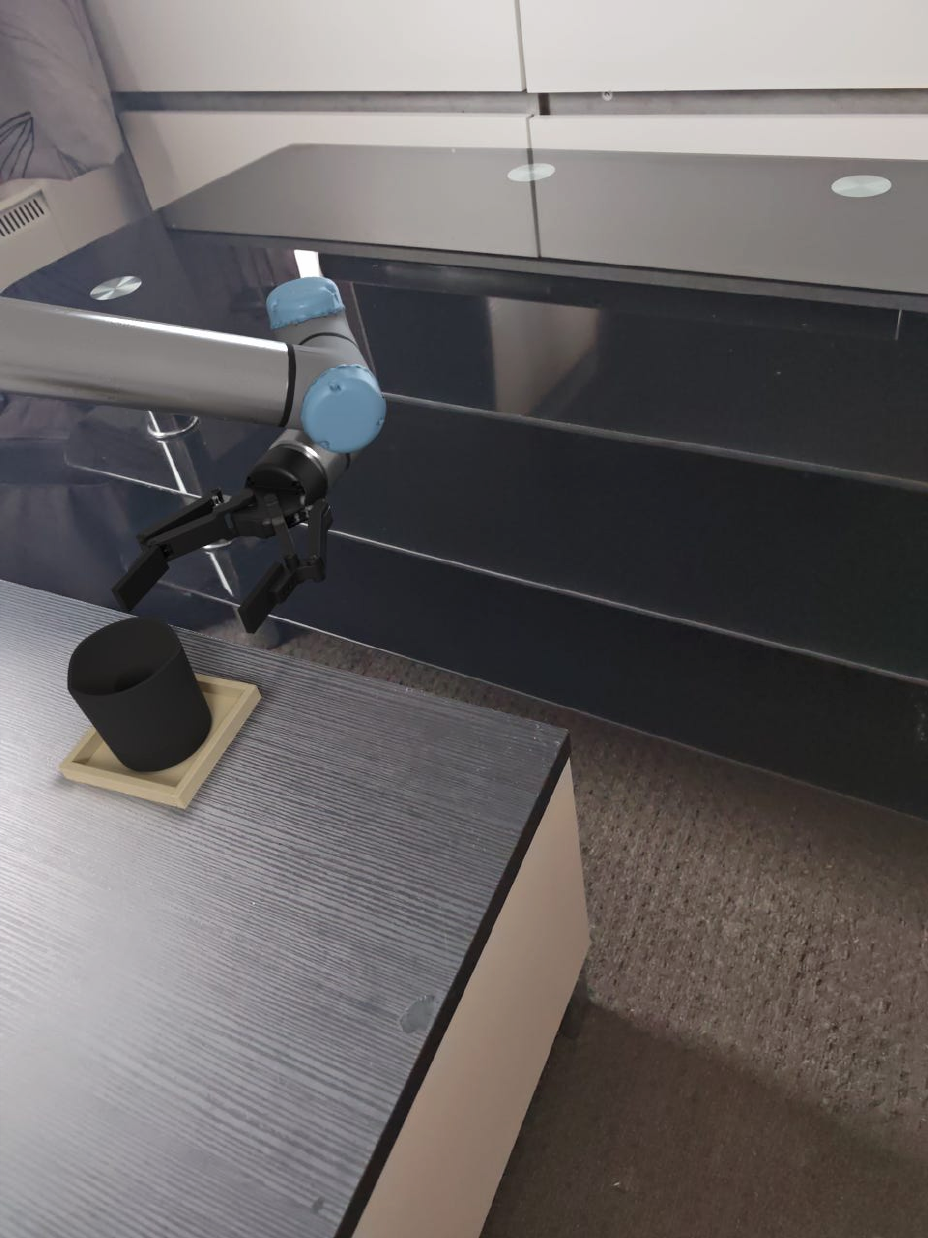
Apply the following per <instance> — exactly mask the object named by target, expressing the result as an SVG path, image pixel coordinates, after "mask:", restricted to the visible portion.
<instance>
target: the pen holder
mask: <svg viewBox="0 0 928 1238" xmlns="http://www.w3.org/2000/svg"><path fill="white" fill-rule="evenodd" d="M67 666H68V667H67V676H66V688H67V691H68V693H69V695H70V696H71V697H72V699H73V700H74V701H75V703H76V704H77V705H78V707H79V709H80V710H81V711H82V713H83V714H84V715H85V717H86V718H87V719H88V721H89V722H90V724H91V725H92V726H94V728H95V729H96V730H97V732H98V733H99V735H100V736H101V737H102V739H103V740H104V742H105V743H106V744H107V745H108V747H109V748H110V749H111V751H112V752H113V753H114V755H115V756H116V757H117V759H118V760H119V761H120V762H121V763H122V764H123V765H124V766H126V767H127V768H130V769H132V770H135V771H141V772H156V771H161V770H165V769H168V768H171V767H174V766H176V765H178V764H180V763H182V762H183V761H185V760H186V759H188V758H189V757H190V756H192V755H193V754H194V753H195V752H196V751H197V750H198V749H199V748H200V747H201V746H202V744H203V743H204V741H205V740H206V738H207V736H208V734H209V731H210V728H211V722H212V719H211V713H210V710H209V707H208V705H207V702H206V700H205V697H204V695H203V692H202V690H201V688H200V685H199V683H198V681H197V679H196V676H195V674H194V673H195V672H194V670H193V667H192V664H191V662H190V661H189V658H188V656H187V653H186V651H185V649H184V647H183V644H182V642H181V640H180V637H179V636H178V634H177V632H176V630H175V629H173V627H172V626H171V625H170V624H169V623H168V622H166V621H164V620H163V619H160V618H157V617H154V616H135V617H128V618H123V619H119V620H117V621H115V622H112V623H109V624H107V625H105V626H103V627H100V628H99V629H97V630H96V631H93V632H92V633H91V634H89V635H88V636H86V637H85V638H84V639H83V640H82V641H81V642H80V643H79V644H78V645H77V646H76V647H75V648H74V650H73V652H72V653H71V655H70V659H69V661H68V665H67Z"/></svg>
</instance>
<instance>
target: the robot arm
mask: <svg viewBox="0 0 928 1238" xmlns="http://www.w3.org/2000/svg"><path fill="white" fill-rule="evenodd" d="M265 306H266V310H267V315H268V319H269V323H270V325H269V328H270V330H271V331H272V333H273V336H274V340H271V339H265V338H258V337H254V336H247V335H242V334H241V335H239V334H234V333H228V332H222V331H215V330H210V329H203V328H197V327H191V326H186V325H179V324H172V323H168V322H159V321H154V320H148V319H142V318H135V317H129V316H125V315H117V314H111V313H107V312H106V313H105V312H99V311H94V310H93V311H92V310H87V309H81V308H74V307H68V306H62V305H56V304H50V303H44V302H37V301H31V300H26V299H25V300H24V299H18V298H14V297H8V296H1V295H0V394H6V395H15V396H22V397H23V396H24V397H31V398H32V397H33V398H39V399H40V398H41V399H48V400H55V401H56V400H57V401H63V402H71V403H80V404H88V405H96V406H105V407H113V408H121V409H128V410H137V411H146V412H152V413H153V412H154V413H161V414H170V415H177V416H185V417H193V418H200V419H201V418H202V419H210V420H218V421H219V420H220V421H225V422H226V421H227V422H233V423H243V424H252V425H259V426H267V427H275V428H283V429H285V430H284V431H283V432H282V433H281V434H280V435H279V436H278V438H277V439H276V440H275V441H274V442H273V443H271V445H270V447H268V449H267V450H266V451H265V453H263V455H262V456H261V457H260V458H259V459H258V460H257V461H256V462H255V463H254V464H253V465H252V467H251V468H250V469H249V470H248V472H247V475H246V479H245V482H244V486H243V488H242V489H241V490H239V491H237V492H236V493H234V494H232V495H227V494H223V492H222V489H221V487H219V486H214V487H211V488H209V490H207V492H205V493H204V494H203V495H202V496H201V497H199V498H198V499H196V500H195V501H193V502H191V503H189V504H188V505H186V506H184V507H182V508H181V509H179V510H177V511H175V512H174V513H172V514H170V515H168V516H166V517H164V518H162V519H161V520H159V521H157V522H155V523H154V524H152V525H151V526H149V527H147V528H145V529H144V530H141V531H140V532H138V533H137V534H136V535H135V538H136V540H137V543H138V545H139V547H140V549H141V551H142V552H141V553H140V554H139V556H137V557H136V558H135V560H134V561H133V562H131V564H130V565H129V566H128V568H127V572H126V573H125V574H124V575H122V577H121V578H120V579H119V580H118V581H117V583H115V585H114V586H113V587H111V589H110V591H111V593H112V594H113V596H114V598H115V600H116V602H117V603H118V606H119V607H120V609H121V611H122V612H123V613H127V614H130V613H131V612H132V611H133V610H134V608H135V607H137V606H138V604H139V603H140V602H141V601H142V600H143V598H144V597H145V596H146V595H147V594H148V593H149V592H150V590H152V589H153V587H154V586H155V585H156V584H157V583H158V582H159V581H160V579H161V578H162V577H163V576H164V575H165V574H166V573H167V572H168V570H169V569H170V566H169V562H171V561H174V560H176V559H178V558H182V557H183V556H186V555H188V554H191V553H193V552H195V551H197V550H199V549H202V548H204V547H207V546H209V545H212V544H214V543H217V542H219V541H221V540H225V541H232V540H234V539H237V538H239V537H245V538H246V537H247V538H248V537H249V538H250V537H255V538H258V539H262V540H268V539H269V538H272V537H275V536H276V539H277V541H278V544H279V545H278V546H279V548H280V551H281V554H282V556H283V561H284V563H285V566H284V564H283V562H282V561H274V562H273V563H272V564H271V566H270V567H269V569H268V570H267V571H265V573H264V574H263V576H262V577H261V578H260V580H259V581H258V582H257V583H256V584H255V586H254V587H253V588H252V590H251V591H250V593H249V594H248V595H247V596H246V597H245V599H244V600H243V602H242V603H241V604H240V605H239V606H238V608H237V610H236V611H237V613H238V616H239V618H240V620H241V622H242V625H243V627H244V629H245V632H246V633H247V634H252V635H255V634H256V632H257V631H258V630H259V628H260V627H261V626H262V624H264V622H265V620H266V619H267V618H268V616H269V615H271V612H272V611H273V610H274V608H275V607H276V606H277V605H282V604H283V603H285V602H287V600H288V598H289V597H290V595H291V594H292V593H293V592H294V591H295V588H296V587H298V585H301V584H303V583H304V582H305V581H306V580H312V581H313V583H322V582H324V581H325V580H326V578H327V553H328V551H327V549H328V532H329V531H330V529H331V527H332V525H333V524H334V522H335V521H334V517H333V514H332V511H331V508H330V504H329V501H328V499H327V498H326V497H327V496H328V495H329V493H330V492H331V491H332V489H334V487H335V486H336V484H337V483H338V482H339V481H340V479H341V478H342V477H343V476H344V475H345V473H346V472H347V471H348V470H349V468H350V466H352V464H353V463H354V462H355V461H356V459H357V458H358V456H360V454H362V452H364V450H365V448H366V447H367V446H369V445H370V443H372V442H374V440H375V439H376V438H377V437H378V435H379V433H380V432H381V430H382V428H383V425H384V423H385V418H386V414H387V403H386V399H385V398H384V399H383V398H382V395H381V392H382V391H381V388H380V386H379V381H378V380H377V378H376V376H375V375H374V373H373V372H372V371H371V370H370V367H369V366H368V363H367V362H366V360H365V358H364V356H363V353H362V351H361V349H360V347H359V345H358V342H357V341H356V339H355V337H354V336H353V333H352V331H351V329H350V325H349V322H348V317H347V313H346V306H345V304H344V303H343V300H342V296H341V293H340V290H339V287H338V286H337V284H336V283H335V281H333V280H331V279H329V278H328V277H323V276H304V277H300V278H295V279H291V280H289V281H286V282H284V283H282V284H280V285H278V286H277V287H275V288H274V289H273V290H272V291H270V293H268V296H267V297H266V302H265ZM228 514H229V515H230V517H229V518H230V520H231V523H232V526H233V527H229V525H228V522H227V519H226V517H225V516H226V515H228ZM306 522H307V530H306V531H307V532H306V549H305V558H300V559H299V556H298V553H297V551H296V548H295V545H294V542H293V539H292V536H291V532H290V529H293V528H295V527H296V526H299V525H301V524H303V523H306Z"/></svg>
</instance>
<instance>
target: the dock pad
mask: <svg viewBox="0 0 928 1238" xmlns="http://www.w3.org/2000/svg"><path fill="white" fill-rule="evenodd" d="M194 674H195V676H196V679H197V681H198V683H199V685H200V688H201V690H202V692H203V695H204V697H205V700H206V702H207V705H208V707H209V710H210V713H211V719H212V722H211V728H210V731H209V734H208V736H207V738H206V740H205V741H204V743H203V744H202V746H201V747H200V748H199V749H198V750H197V751H196V752H195V753H194V754H193V755H192V756H190V757H189V758H188V759H186V760H185V761H183V762H182V763H180V764H178V765H176V766H174V767H171V768H168V769H165V770H161V771H156V772H141V771H135V770H132V769H130V768H127V767H126V766H124V765H123V764H122V763H121V762H120V761H119V760H118V759H117V757H116V756H115V755H114V753H113V752H112V751H111V749H110V748H109V747H108V745H107V744H106V743H105V742H104V740H103V739H102V737H101V736H100V735H99V733H98V732H97V730H96V729H95V728H94V726H93V725H92V726H91V727H90V728H89V729H88V730H87V732H86V733H85V734H84V735H83V736H82V737H81V739H80V740H79V741H78V742H77V743H76V745H75V746H74V747H73V748H72V749H71V751H70V752H69V753H68V754H67V756H66V757H65V758H64V759H63V760H62V762H61V763H60V764H59V766H58V769H59V770H60V771H61V773H62V774H63V776H64V778H65V779H67V780H71V781H75V782H78V783H82V784H86V785H90V786H95V787H97V788H102V789H104V790H105V789H106V790H109V791H114V792H118V793H121V794H125V795H128V796H132V797H137V798H141V799H144V800H148V801H152V802H156V803H160V804H164V805H168V806H172V807H175V808H176V807H177V808H180V809H183V810H185V809H186V808H187V807H188V806H189V804H190V803H191V801H192V799H193V798H194V797H195V795H196V794H197V792H198V791H199V789H200V788H201V786H202V785H203V784H204V782H205V781H206V779H207V778H208V776H209V775H210V773H211V772H212V771H213V769H214V768H215V766H216V764H217V763H218V762H219V760H220V759H221V757H222V756H223V754H224V753H225V752H226V750H227V748H228V747H229V746H230V744H231V743H232V742H233V740H234V738H235V737H236V736H237V734H238V733H239V731H240V730H241V728H242V727H243V725H245V722H246V721H247V719H248V718H249V717H250V715H251V713H252V712H253V711H254V709H255V708H256V706H257V705H258V703H259V702H260V700H261V699H262V697H263V696H262V695H261V692H260V690H259V688H258V685H256V684H254V683H253V684H252V683H248V682H242V681H238V680H237V681H236V680H232V679H228V678H227V679H226V678H221V677H216V676H212V675H211V676H210V675H206V674H200V673H196V672H194Z"/></svg>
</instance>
